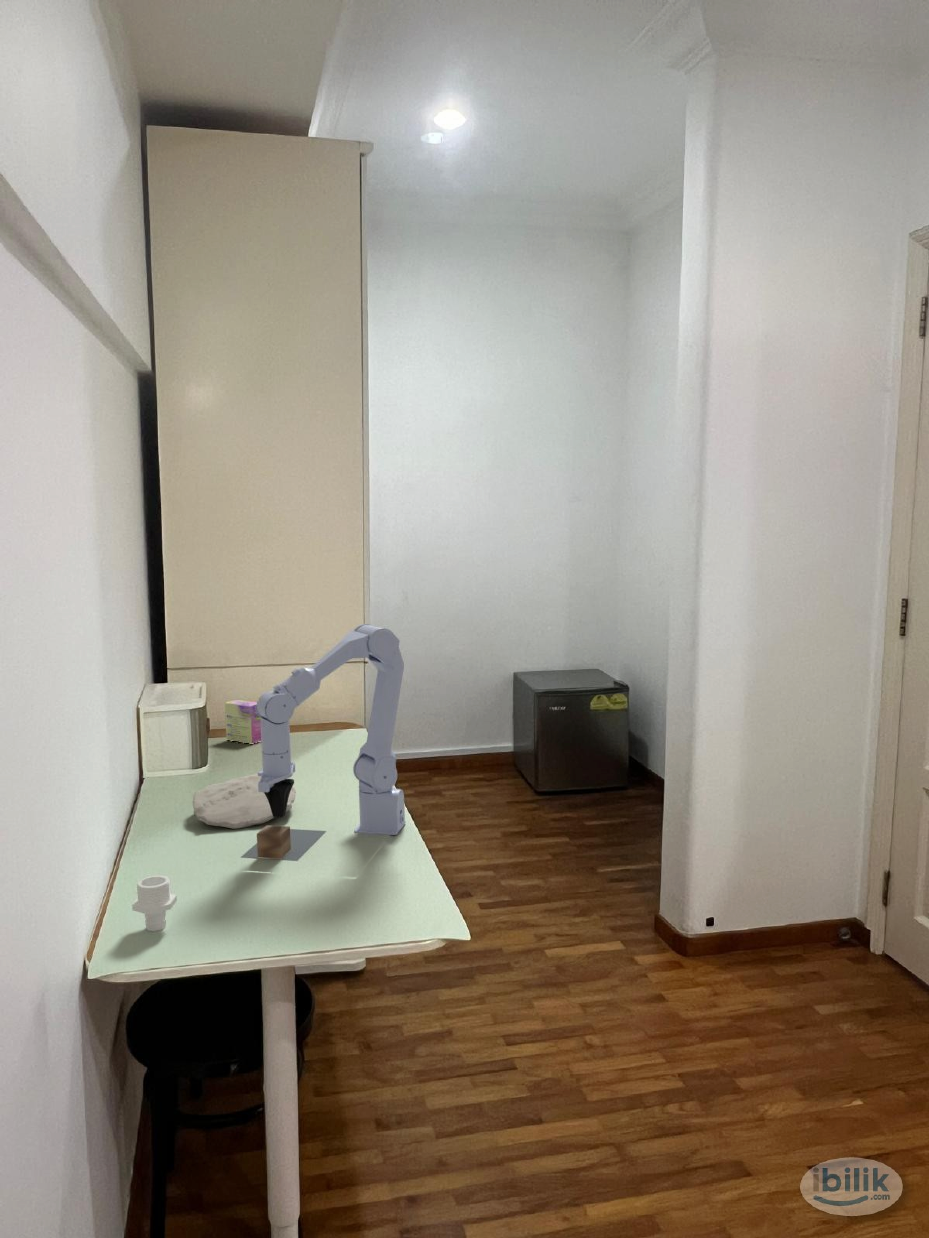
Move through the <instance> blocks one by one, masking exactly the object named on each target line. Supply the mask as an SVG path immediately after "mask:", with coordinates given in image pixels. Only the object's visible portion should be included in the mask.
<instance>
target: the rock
mask: <svg viewBox="0 0 929 1238" xmlns="http://www.w3.org/2000/svg"><path fill="white" fill-rule="evenodd" d="M257 773H258V772H255V773H253V774H250V775H245V776H240V777H235V778H231V779H228V780H227V781H224V782H219V783H212V784H208V785H207V786H206V787H204V788H202V789H200V790H198V791H196V792H194V794H193V798H192V799H193V800H192V807H193V815H195V816H196V818H197V819H198V820H199V821H201V822H203V823H204V824H205V825H208V826H215V827H223V828H229V829H234V830H235V829H236V830H237V829H243V828H249V827H251V826H255V825H262V824H265V823H266V822H267V823H268V822H269V821H270V820H272V819H274V818H275V817H273V814H272V811H271V808H270V805H269V802H268V799H267V797H266V795H265V794H264V792H259V791H258V782H260V780H261V776H258V775H257ZM296 793H297V791H296V789H295V787H294V786H292V789H291V791H290V794H289V798H288V803H287V808H286V812H287V811H290V810H292V807H293V803H294V802H295V801H296V796H297V795H296Z"/></svg>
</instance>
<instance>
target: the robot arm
mask: <svg viewBox="0 0 929 1238" xmlns="http://www.w3.org/2000/svg"><path fill="white" fill-rule="evenodd" d="M400 642H401V641H400V639H399V638H398V637H397V635H395V633H394V632H393V631H391V630H390V629H389V628H386V627H378V626H375V625H374V626H373V625H371V624H368V623H362V624H359V625H358V626H357V627H355V628H354V629H353V630H351V631H349V632H348V633H346V635H345V636H344V637H343V638H342V640H340V642H338V643H337V644H336V645H335V646H333V647H332V648H331V649H330V650H329V651H328V652H327V653H326V654H325V655H323V656H322V657H321V658H320V659H319V660H317V661H316V662H315V663H314V664H313V665H312V666H311V667H301V668H294V669H293V670H291V674H292V675H290V676H289V677H287V678H286V679H285V680H284V681H282V682H281V683H280V684H275V685H274V686H273V687H272V688H273V690H270V691H266V692H264V693H262V694H261V695H260V696H259V698H258V700H257V701H256V702H257V705H256V706H255V709H256V712H257V714H258V715H259V716H260V717H261V742H260V744H261V745H260V746H261V762H262V763H261V764H262V769H261V770H259V771H258V772H256V773H257V775H258V776H261V780H260V782H258V791H259V792H264V794H265V795H266V797H267V799H268V802H269V805H270V808H271V811H272V814H273V817H274V818H284V817H285V816H286V813H287V811H286V808H287V803H288V798H289V794H290V791H291V789H292V787H294V785H295V779H293V778H292V777H293V775H294V774H295V772H296V762H292V756H291V755H292V750H291V731H290V720H291V718H292V717H293V714H294V711H295V709H296V708H297V707H299V706H300V705H301V704H302V703H304V702H305V701H306V700H308V699H309V698H310V697H312V695H314V694H315V693H316V692H318V691H319V689H320V687H321V682H322V680H323V679H325V678H326V677H328V676H329V675H330V674H332V673H334V672H335V671H336V670H337V669H339V668H340V667H342V666H343V665H345V664H346V663H348V661H350V660H352V659H368V660H369V661H370V662H371V663H372V664H373V666H374V667H375V669H376V670H377V675H376V680H375V687H374V694H373V699H372V705H371V711H370V712H371V713H370V719H369V725H368V731H367V737H366V742H365V743H364V744H363V745H362V746H361V747H360V749H359V754H358V757H357V758H356V760H355V761H354V764H353V767H352V769H353V770H352V771H353V775H354V777H355V778H356V779H357V780H358V797H359V798H358V803H359V805H358V806H359V824H358V825H357V826H356V827H355V829H354V830H353V832H354V833H355V834H372V835H373V834H374V835H391V836H395V835H396V836H397V835H398V833H399V832H400V831H401V829H402V828H403V827H404V826H405V825H406V820H405V819H406V817H405V816H406V815H405V814H406V813H405V795H404V794H405V793H404V791H403V789H401V788H394V786H395V784H396V782H397V780H398V770H397V767H396V765H397V764H396V763H397V757H396V754H395V751H394V749H393V747H392V744H393V738H394V731H395V725H396V720H397V713H398V706H399V699H400V694H401V688H402V681H403V675H404V667H405V664H404V660H403V657H402V653H401V649H400Z"/></svg>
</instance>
